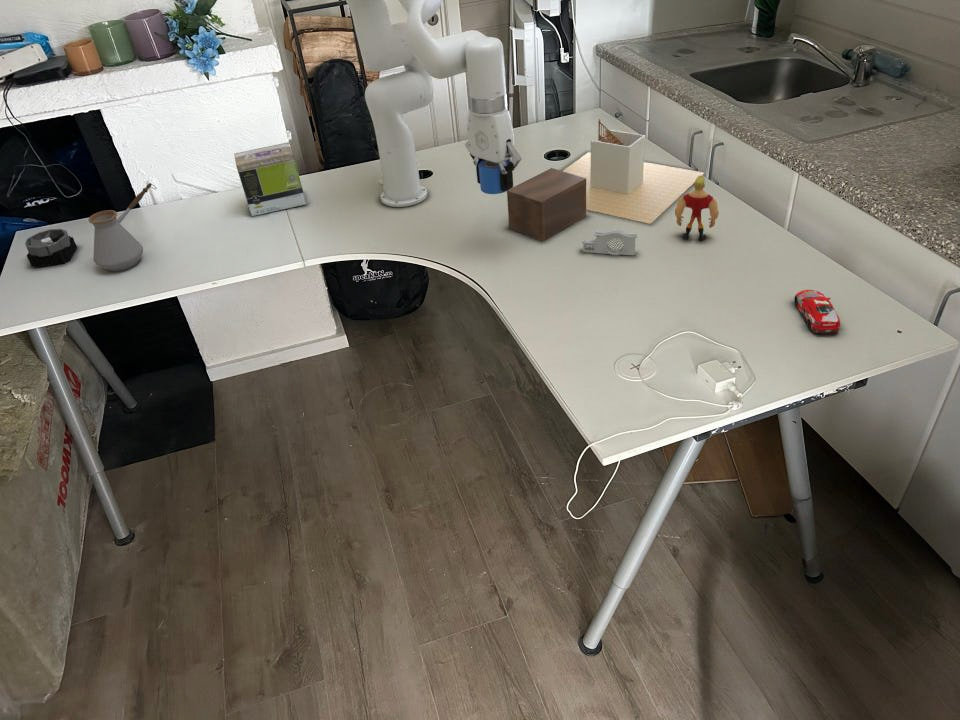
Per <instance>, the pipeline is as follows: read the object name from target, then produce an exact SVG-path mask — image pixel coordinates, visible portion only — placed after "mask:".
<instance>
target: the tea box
mask: <svg viewBox="0 0 960 720" xmlns="http://www.w3.org/2000/svg"><path fill="white" fill-rule="evenodd" d="M233 155H234V161H235V167H236V170H237V174H238V177H239V181H240V183H241V186H242V190H243V194H244V196H245V199H246V202H247V206H248V208H249V212H250V215H251V216H252V217H255V216H260V215H265V214H268V213H269V214H270V213H273V212H278V211H282V210H286V209H291V208H295V207H300V206H304V205H307V201H306V197H305V193H304V189H303V186H302V181H301V179H300V178H301V177H300V174H299V170H298V166H297V162H296V159H295V155H294V152H293V150H292V148H291V145H290V142H283V143H278V144H273V145H269V146H264V147H259V148H255V149H249V150H245V151H240V152H235V153H234V154H233Z"/></svg>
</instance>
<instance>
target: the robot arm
mask: <svg viewBox="0 0 960 720" xmlns="http://www.w3.org/2000/svg"><path fill="white" fill-rule="evenodd" d="M345 2H346V4H347V6H348V9H349V11H350V14H351V17H352V21H353V26H354V30H355V34H356V35H355V36H356V38H357V42H358V46H359V51H360V56H361V58H362V62H363V64H364V67H365V68H366V69H367V70H368V71H370V72H372V73H378V72H379V73H380V72H386V71H389V70H392V69H393V70H394V69H396V68H399V67H404V71H400V72H397V73H392V74H389V75H384V76H382V77H379V78H376V79H374V80H373V81H371V82H370V83H368V85H367V86H366V88H365V91H364V99H365V103H366V106H367V109H368V113H369V115H370V117H371V121H372V124H373V129H374V134H375V140H376V145H377V150H378V157H379V162H380V167H381V173H382V178H381V179H379V180H378V184H379V185H381V186H382V187H383V191H382V192H381V194H380V201H381V203H382V204H383V205H385V206H388V207H392V208H393V207H394V208H407V207H411V206H415V205H418V204H420V203H422V202H423V201H424V200H425V199H426V198H428V190H427V188H426V187H425V186H423V185H421V179H420V173H419V165H418V160H417V158H418V157H417V151H416V145H415V144H416V143H415V137H414V132H413V129H412V127H411V125H410V124H409V123H408V122H407V121H406V120H405V119H404V118H403V115H405V114H407V113H410V112H413V111H416V110H419V109H422V108H424V107H427V106H429V105H430V104H431V103H432V102H433V99H434V85H433V84H434V83H433V78H434V79H438V80H443V79H448V78H451V77H454V76H457V75H460V74H463V73H467V83H468V94H469V95H468V100H469V103H470V108H468V113H467V126H466V127H467V129H466V130H467V141H466V142H465V144H464V145H465V148H466V149H467V151H468V152H469V155H470V157H471V159H472V160H473V161H472V162H473V166H475V169H476V172H475V173H476V181H477V184H479V185H480V177H479V166H478V165H479V163H480V162H481V161H483V160H487V161H491V162H494V163H499V166H500V168H501V171H502V173H501V174H500V181H501V190H502V191H503V192H504V193H506V192H507V190H509V189H511V188H513V187H514V175H513V171H515V169H516V168H517V166H518V164H519V163H520V162H522V156H521V155H520V153H519V152H518V150H517V149H516V148H515V136H514V127H513V124H512V123H513V122H512V118H511V114H510V110H509V109H508V97H507V84H506V82H507V81H506V68H505V67H506V66H505V55H504V53H505V52H504V45H503V43H502V41H501V40H500V38H497V37H494V36H487V35H485V34H484V33H483V32H480V31H479V30H475V29H470V30H466V31H461V32H457V33H453V34H450V35H446V36H443V37H439V38H436V39H435V38H434V37H433V36H432V35H431V34H430V32H429V31H428V30H427V28H426V26H425V24H426V23H427V22H428V21H429V20H430V19H431V18H433V16H434V15H435V14H436V13H437V12H438V10H439V9H440V8H441V6H442V3H443V0H398V2H399V3H400V4H401V6H402V7H403V9H404V10H405V12H407V19H406V21H400V22H397V23H391V19H390V15H389V10H388V5H387V4H386V2H385V0H345ZM504 161H506V162H507V164H508V165H507V166H505V163H504ZM505 191H506V192H505Z"/></svg>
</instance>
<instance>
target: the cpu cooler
mask: <svg viewBox="0 0 960 720" xmlns="http://www.w3.org/2000/svg"><path fill="white" fill-rule="evenodd" d="M68 233H69V232H68V231H67V230H66V229H63V228H51V229H47V230H43V231H38V232H37V233H35V234H33V235H31V236H29V237H28V238H26V240H25V243H24V245H25V247H26V250H27V252H28V253H27V254H26V258H27V260H28V262H29V264H30V266H31V267H33V268H40V267H41V268H42V267H48V266H55V265H62V264H66V262H70V261H71V260H72V257H73V256H74V254H75V253H76V251H77V249H78V246H77V243H76V241H75V239H74V237H73V236H71V235H69V234H68Z"/></svg>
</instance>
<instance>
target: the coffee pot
mask: <svg viewBox="0 0 960 720" xmlns="http://www.w3.org/2000/svg"><path fill="white" fill-rule="evenodd" d="M150 188H151V189H153V190H157V187H156V186H155V185H154V184H153V183H151V182H149V183H147V184H146V186H145V187H143V188H142V190H141V192H139V193H138V194H137V195H136V196H135V197H134V199H133V200H132V202H131V203H130V204H129V205H128V207H127V208H126V210H124V211H123V213H122V214H120V216H119V217H118V218H117V216H118V213H117V211H115V210H112V209H108V210H102V211H98V212H96V213H93V214H92V215H90V216H89V217H88V222H89V224H92V226H93V227H94V233H93V236H94V237H93V258H92V259H93V262H94V263H95V264H96V265H97V266H98V267H99V268H102V269H103V270H107V271H109V272H122V271H126V270H128V269H130V268H132V267H134V266H135V265H137V264H138V263H139V261H140V260H141V257H142V256H143V254H144V247H143V245H142V244H141V242H139V240H137V239H136V238H135V237H134V236H133V235H132V234H131V232H129V231H128V230H127V229H126V228H125V227H124V226H123V225H122V224H121V223H122V222H123V220H124V219H125V218H126V216H128V214H129V213H130V211H132V210H133V209H134V208H135V207H136V205H138V203H140V201H141V200H142V199H143V197H144V196H145V194H146V193H148V191H149V189H150Z"/></svg>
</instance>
